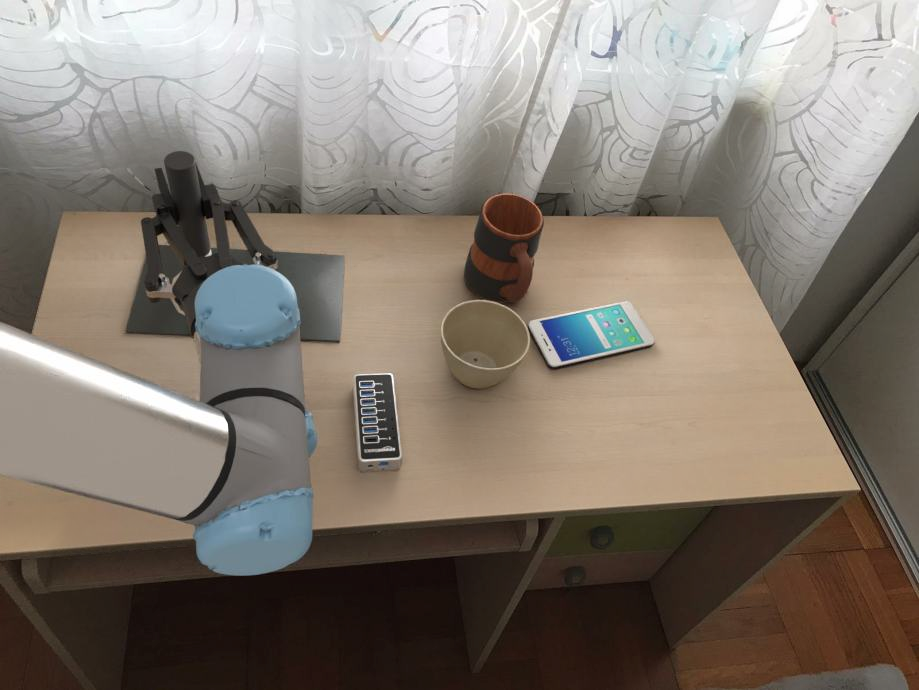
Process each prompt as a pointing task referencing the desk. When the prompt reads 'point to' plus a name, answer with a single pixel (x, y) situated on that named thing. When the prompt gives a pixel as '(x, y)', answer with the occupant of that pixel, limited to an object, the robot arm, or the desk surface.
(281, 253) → the board
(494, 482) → the desk surface
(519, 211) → the mug
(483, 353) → the flower pot
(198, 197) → the cylinder
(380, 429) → the multiport hub
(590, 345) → the smartphone
